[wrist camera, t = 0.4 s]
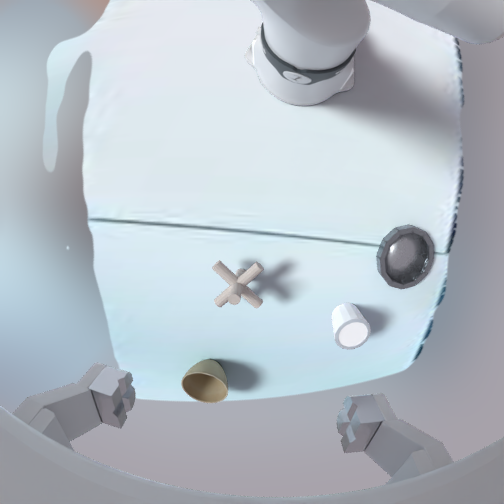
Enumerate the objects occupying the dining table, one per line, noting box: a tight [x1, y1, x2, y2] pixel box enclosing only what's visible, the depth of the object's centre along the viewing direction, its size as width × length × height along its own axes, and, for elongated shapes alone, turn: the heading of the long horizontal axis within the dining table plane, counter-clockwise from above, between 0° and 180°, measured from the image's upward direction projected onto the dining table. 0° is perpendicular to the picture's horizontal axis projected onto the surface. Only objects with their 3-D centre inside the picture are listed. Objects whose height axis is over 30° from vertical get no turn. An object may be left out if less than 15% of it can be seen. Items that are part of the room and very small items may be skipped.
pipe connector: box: [212, 260, 264, 308], centre depth 45 cm, size 10×10×10 cm
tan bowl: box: [181, 359, 228, 403], centre depth 54 cm, size 10×10×7 cm
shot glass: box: [332, 303, 371, 349], centre depth 48 cm, size 7×7×7 cm
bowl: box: [376, 225, 433, 289], centre depth 45 cm, size 12×12×2 cm
